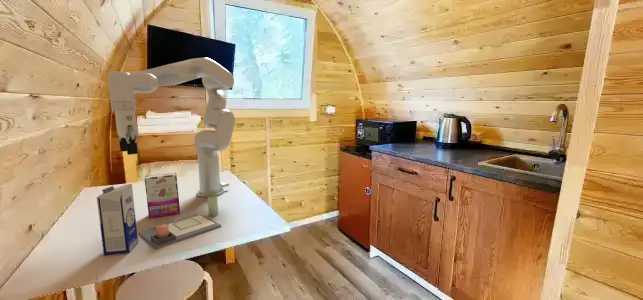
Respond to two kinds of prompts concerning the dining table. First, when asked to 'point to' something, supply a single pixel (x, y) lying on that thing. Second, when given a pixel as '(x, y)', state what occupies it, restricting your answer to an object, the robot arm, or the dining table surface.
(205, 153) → the robot arm
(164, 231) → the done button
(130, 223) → the milk carton
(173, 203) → the candy bar box
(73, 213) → the dining table surface
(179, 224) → the drawing board
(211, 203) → the green cylinder
